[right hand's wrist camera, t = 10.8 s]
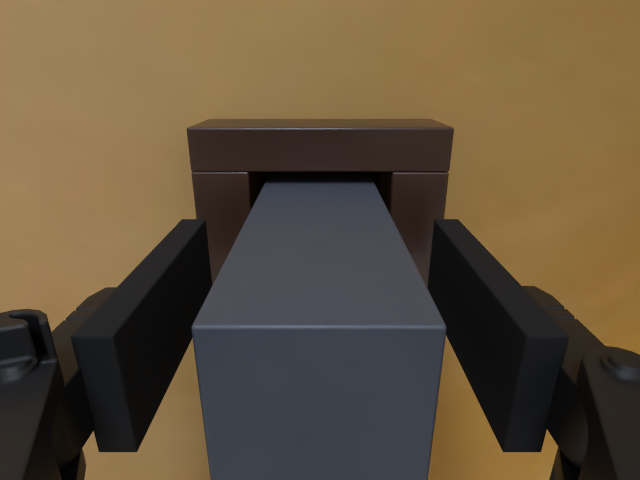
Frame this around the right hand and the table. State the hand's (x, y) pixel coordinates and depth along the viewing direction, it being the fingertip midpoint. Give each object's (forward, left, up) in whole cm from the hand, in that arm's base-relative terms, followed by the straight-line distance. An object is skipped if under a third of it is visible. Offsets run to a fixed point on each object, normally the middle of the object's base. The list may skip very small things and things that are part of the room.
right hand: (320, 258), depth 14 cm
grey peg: (0, 0, -5) cm, 5 cm away
